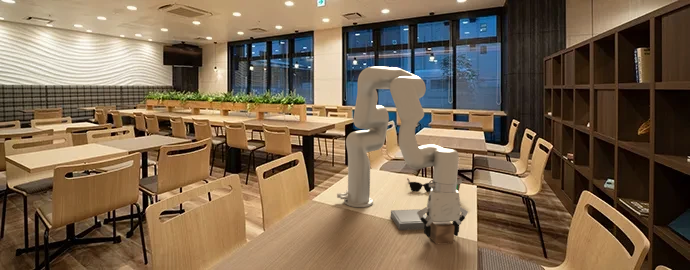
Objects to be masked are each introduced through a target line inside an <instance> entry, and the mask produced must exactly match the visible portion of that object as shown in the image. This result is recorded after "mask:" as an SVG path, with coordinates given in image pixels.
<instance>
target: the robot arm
mask: <svg viewBox="0 0 690 270" xmlns="http://www.w3.org/2000/svg"><path fill="white" fill-rule="evenodd" d="M377 90H389V91H390V94H391V97H392V100H393V102H394V105H395V108H396V111H397V113H398V117H399V119H400V126H399V129H398V130H399V131H398V146H399V150H400V152H401V155H402V157H403V159H404V162H405V163H406V165H407V166H408V167H409V168H410V169H412V170H422V169H425V168H431V167H433V173H432V179H431V180H432V181H431V182H430V183H429V182H428V183H429V187H431V188H432V189H431V190H430V192H428V193H429V194H428V197H427V202H426V203H427V204H426V207H423V208H421V209H420V211H418V212H417V214H418V216H419V218H420V220H421V221H422V222H423V223H424V229H423V233H424V234H425V236H426V237H427V238H429V239H430V238H431V237H430V234H431V226H430V224H431V223H432V222H433V221H434V222H446V221H450V222H452V224H453V225H454V226H455V227H454V237H458V235H459V232H460V225H462V222H463V221H464V220H465V219H466V217H467V215H468V213H469V212H468V210H467V209H466V208H463V207H461V202H460V201H461V197H460V193H459V192H460V190H459V191H458V190H456V186H457V180H458V172H459V171H458V169H459V152H458V151H457V150H456V149H452V148H445V147H442V146H439V145H438V144H437V145H436V144H433V143H432V144H431V143H430V144H423V145H419V143H418V141H417V138H416V127H417V124H418V123H419V122H420V121H421V120H422V119H423V118H424V117H425V111H424V109H423V106H422V104H421V101H420V99H421V98H422V97H424V96H425V94H426V90H427V89H426V83H425V82H424V80H423V79H422V78H421V77H419V76H418V75H415V74H414V73H410V72H409V71H407V70H404V69H402V68H399V67H393V66H391V67H389V66H370V67H369V66H368V67H366V68H364V69H363V70H362V71H361V72H360V73H359V75H358V78H357V94H356V101H355V106H354V112H353V113H354V114H353V124H354V126H355V127H356V128H357V129H360V130H356V131H352V132H350V133H349V134H348V135H347V137H346V139H345V145H346V150H347V152H346V153H347V190H346V191H345V192H344V193H341V192H340V193H339V192H338V193H336V198H337V199H340V200H343V203H344V204H345V205H346V206H349V207H352V208H366V207H370V206H372V205H373V203H374V199H373V198H372V197H370V194H371V193H370V191H371V189H370V188H371V160H370V158H369V156H368V153H369V152H371V153H372V152H376V151H379V150H381V149H382V148H383V147H384V144H385V141H386V137H387V130H388V127H389V121H390V117H389V111H388V110H387V108H386V107H385V106H383V105H380V104H378V100H379V99H378V98H379V97H378V92H377ZM361 129H362V130H361ZM424 214H425V215H426V216H427V217H426V218H425V219H424V217H423V215H424Z"/></svg>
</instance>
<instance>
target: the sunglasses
mask: <svg viewBox="0 0 690 270" xmlns="http://www.w3.org/2000/svg"><path fill="white" fill-rule="evenodd" d="M406 180H407V182H408V185H409V188H410V191H411V192H419V191H420V190H422V188H424V190H425V191H426V192H427V193H430V190H431V189H432V188H431V187H429V183H432V180H433V179H431V180H430V181H429V182H426V183H424V184H422V183H421V182H418V181H410V179H409V178H408V177H407V178H406Z"/></svg>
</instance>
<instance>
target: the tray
mask: <svg viewBox="0 0 690 270" xmlns="http://www.w3.org/2000/svg"><path fill="white" fill-rule="evenodd" d="M420 210H421V209H420V208H419V209H395V210H390V218H391V219H392V221H393V222H394V224H395V226H396V227H397V229H398V230H399V231H409V230H410V231H412V230H424V223H423V222H422V221H421V220H420V218H419V216H418V214H417V212H418V211H420ZM423 217H424V219H425V218H426V217H427V214H426V213H425V214H424V215H423Z"/></svg>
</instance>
